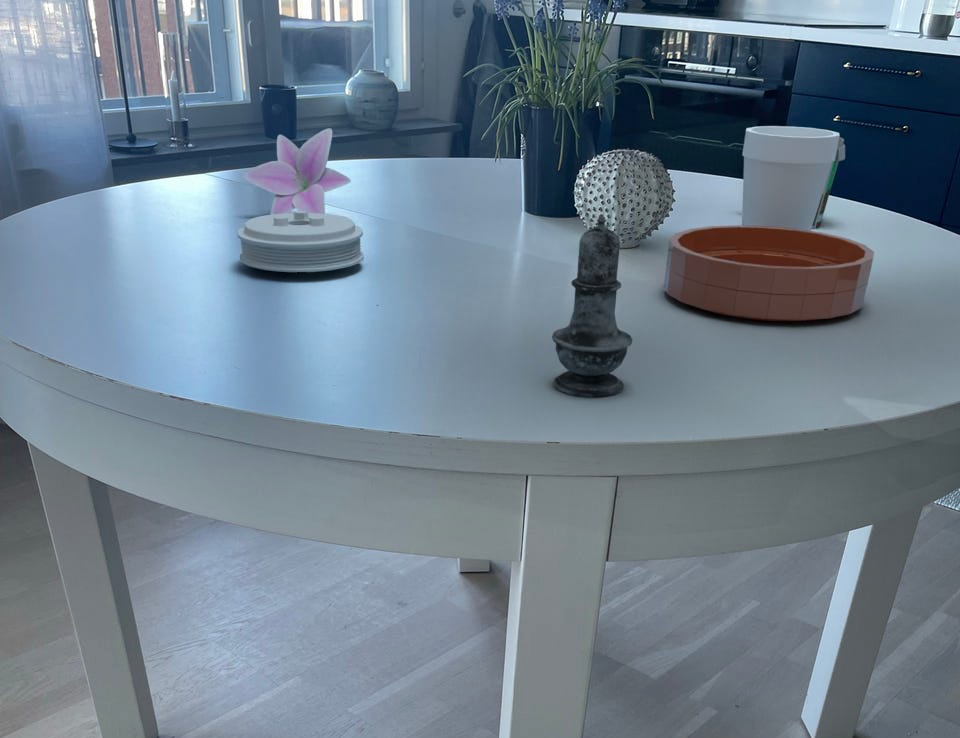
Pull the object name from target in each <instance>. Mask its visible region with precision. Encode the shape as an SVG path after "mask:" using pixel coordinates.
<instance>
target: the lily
mask: <svg viewBox="0 0 960 738" xmlns="http://www.w3.org/2000/svg"><path fill="white" fill-rule="evenodd" d="M332 139H333V129H332V128H331V127H330V128H325V129H323V130H321V131H319V132H318V133H316V134H315V135H313V136H312V137H310V138H309V139H307V140H306V141H305V142H304V143H303V144H302V145H301V146H300V148H298V146H297V145H296V144H295V143H293V141H291V140H290V139H289V138H287V137H286V136H284V135H283V134H278V135H277V138H276V157H277V160H273V161H268V162H264V163H261V164H259V165H257V166H255V167H252V168H250V169H249V170H247V171H245V172H244V174H243V175H242V176H243V178H244V179H245V180H246V181H247V182H249V183H251V184H253V185H254V186H257V187H259V188H261V189H263V190H265V191H267V192H268V193H269V192H270V193H272V194H274V198H273V200H272V205H271V209H270V215H272V214H282V213H292V211H294V209H296V211H307V212H308V213H322V214H326V206H325V205H326V204H325V203H326V202H325V201H326V199H325V193H327V192H331V191H333V190H336V189H338V188H339V189H340V188H342V187H344V186H346V185H349V184H351V182H352V180H351V179H350V178H349V177H348V176H347V175H345V174H343V173H342V172H340V171H337V170H335V169H333V168H330V167H327V164H328V161H329V156H330V155H329V154H330V150H331V145H332V141H333V140H332Z"/></svg>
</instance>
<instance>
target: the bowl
mask: <svg viewBox="0 0 960 738" xmlns="http://www.w3.org/2000/svg"><path fill="white" fill-rule="evenodd" d="M874 255H875V251H874V250H872V249H871V248H870V247H868V246H867V245H866V244H863V243H861V242H858V241H855V240H852V239H850V238H847V237H843V236H839V235H834V234H830V233H826V232H820V231H813V230H811V231H808V230H801V229H793V228H782V227H771V226H744V225H742V224H741V225H740V224H738V225H733V224H732V225H712V226H704V227H695V228H690V229H689V228H688V229H685V230H682V231H679V232H677V233H674V235H672V236H671V237H670V238H669V240H668V248H667V257H666V264H665V265H666V266H665V274H664V282H663V287H664V289H665V292H666V293H667V295H668V296H670V297H672V298H673V299H675V300H677V301H678V302H679V303H682V304H686V305H689V306H692V307H695V308H698V309H701V310H704V311H707V312H710V313H714V314H717V315H721V316H727V317H732V318H738V319H745V320H753V321H764V322H767V321H768V322H807V320H808V321H816V320H824V319H833V318H837V317H841V316H842V317H843V316H847V315H851V314H852V313H854V312H857V311H859V310H860V309H862V308H863V306H864V302H865V297H866V293H867V288H868V283H869V279H870V274H871V270H872V266H873V260H874Z"/></svg>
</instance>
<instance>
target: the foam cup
mask: <svg viewBox="0 0 960 738" xmlns="http://www.w3.org/2000/svg"><path fill="white" fill-rule="evenodd" d="M840 136H841V135H840V132H837V131H832V130H829V129H821V128H815V127H802V126H782V125H781V126H780V125H763V126H762V125H761V126H752V127H746V129H745V135H744V142H743V148H742V154H741V155H742V157H743V177H742V179H743V181H742V209H741V211H742V212H741V214H742V215H741V225H744V226H771V227H782V228H793V229H801V230H808V231H812V229H813V228H812V225H813V222H814V219H815V216H816V212H817V209H818V206H819V203H820V200H821V196H822V193H823V190H824V187H825V184H826V181H827V177H828V174H829V171H830V168H831V165H832V161H835V157H836V152H837V146H838V141H839V137H840Z"/></svg>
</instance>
